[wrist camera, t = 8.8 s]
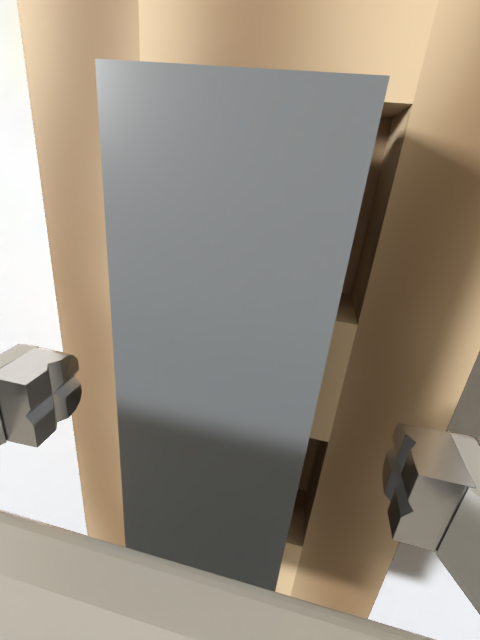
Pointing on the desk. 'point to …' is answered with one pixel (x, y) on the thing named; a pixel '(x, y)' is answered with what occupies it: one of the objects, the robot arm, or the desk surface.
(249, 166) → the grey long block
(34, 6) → the socket block
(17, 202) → the desk surface
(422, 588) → the desk surface
